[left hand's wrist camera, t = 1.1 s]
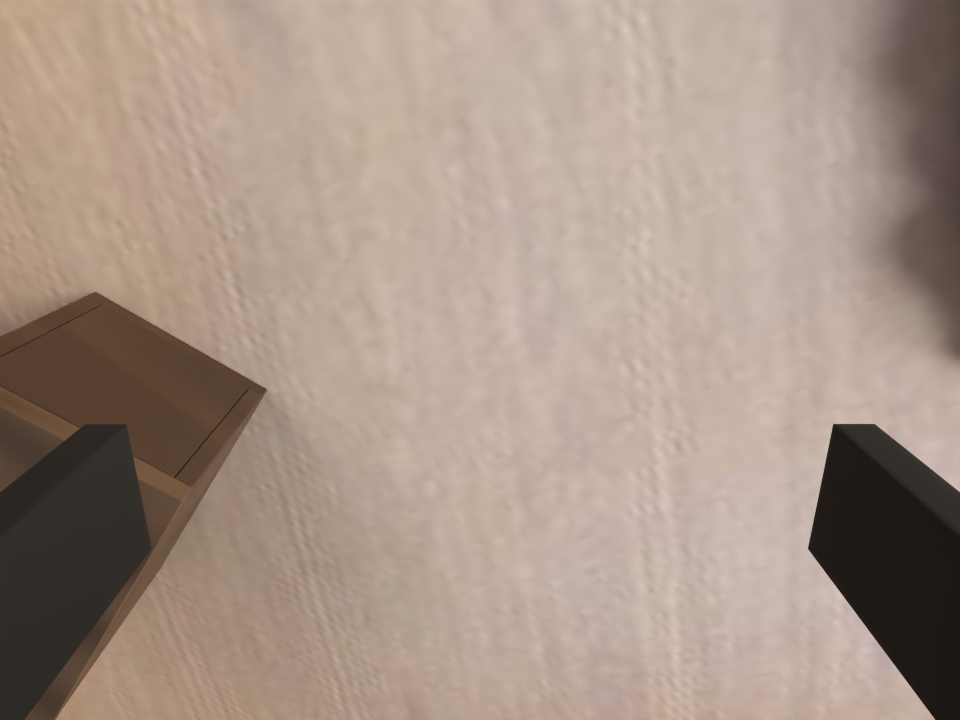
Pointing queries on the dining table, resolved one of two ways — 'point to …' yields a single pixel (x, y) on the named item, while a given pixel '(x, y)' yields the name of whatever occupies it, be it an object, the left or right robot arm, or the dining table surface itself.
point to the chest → (133, 399)
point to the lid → (36, 432)
